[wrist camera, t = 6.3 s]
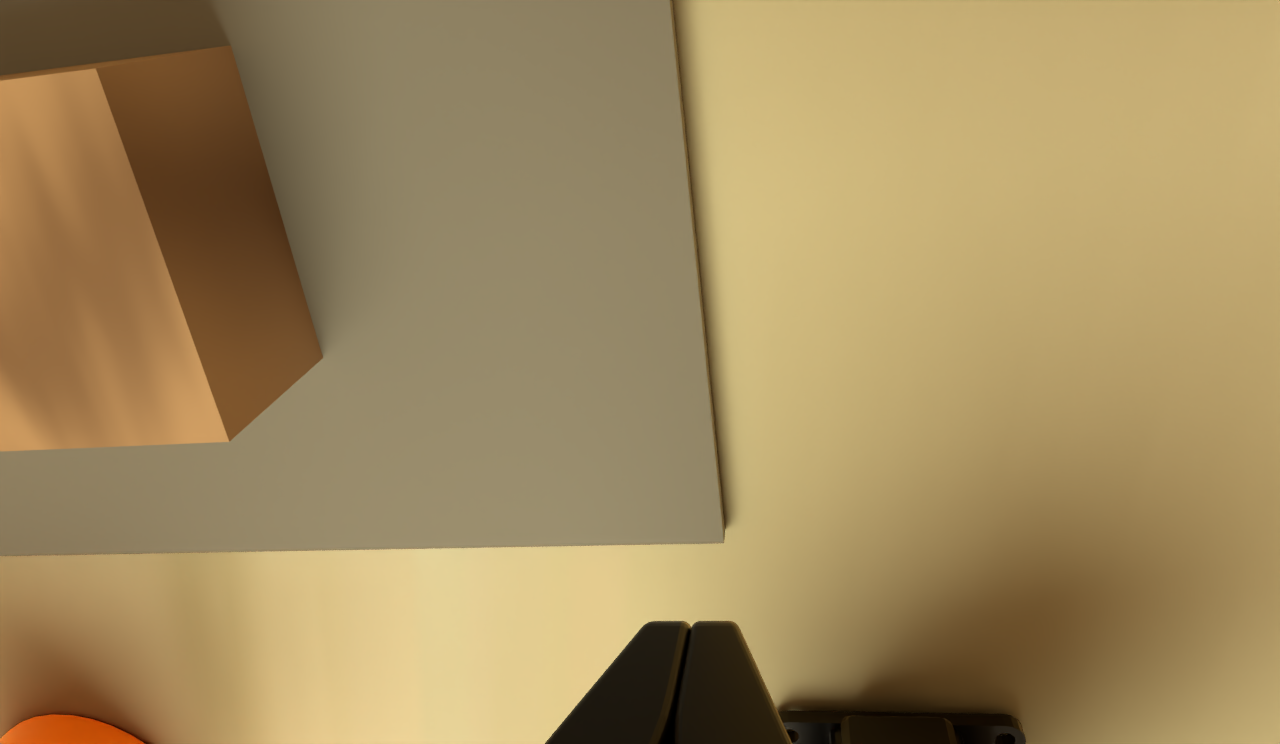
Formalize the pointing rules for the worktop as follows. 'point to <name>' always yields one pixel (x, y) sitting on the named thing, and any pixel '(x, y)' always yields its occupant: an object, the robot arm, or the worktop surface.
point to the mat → (428, 286)
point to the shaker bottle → (66, 731)
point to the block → (141, 258)
